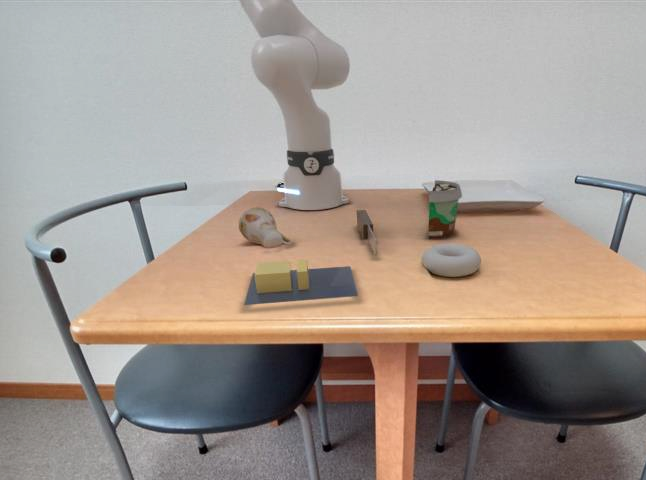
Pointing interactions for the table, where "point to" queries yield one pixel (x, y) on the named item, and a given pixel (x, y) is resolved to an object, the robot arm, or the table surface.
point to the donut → (451, 260)
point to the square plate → (492, 196)
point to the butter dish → (282, 284)
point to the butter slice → (302, 275)
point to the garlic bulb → (261, 228)
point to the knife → (366, 228)
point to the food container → (443, 209)
